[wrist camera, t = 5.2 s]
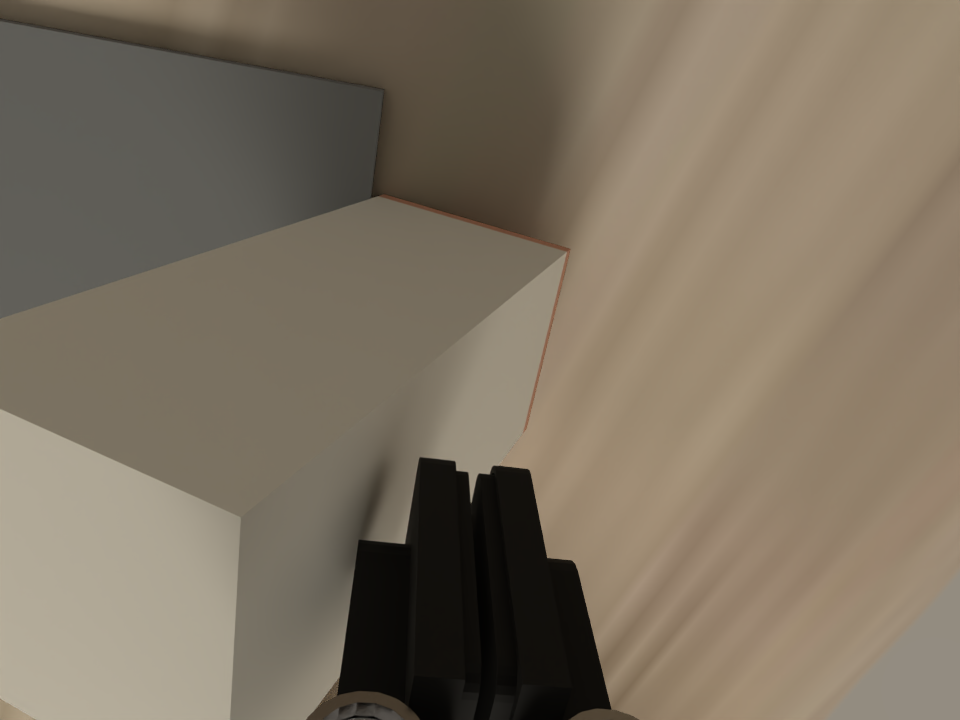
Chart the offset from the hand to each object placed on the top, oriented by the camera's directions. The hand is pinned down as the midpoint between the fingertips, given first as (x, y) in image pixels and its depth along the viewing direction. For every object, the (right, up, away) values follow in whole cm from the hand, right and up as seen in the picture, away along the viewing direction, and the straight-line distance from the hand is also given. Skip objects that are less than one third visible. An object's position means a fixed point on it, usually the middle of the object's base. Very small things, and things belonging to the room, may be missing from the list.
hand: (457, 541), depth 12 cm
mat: (-9, +6, +8) cm, 13 cm away
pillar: (0, +4, +8) cm, 9 cm away
